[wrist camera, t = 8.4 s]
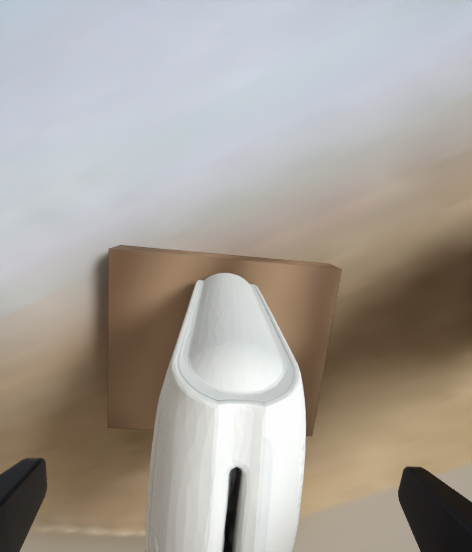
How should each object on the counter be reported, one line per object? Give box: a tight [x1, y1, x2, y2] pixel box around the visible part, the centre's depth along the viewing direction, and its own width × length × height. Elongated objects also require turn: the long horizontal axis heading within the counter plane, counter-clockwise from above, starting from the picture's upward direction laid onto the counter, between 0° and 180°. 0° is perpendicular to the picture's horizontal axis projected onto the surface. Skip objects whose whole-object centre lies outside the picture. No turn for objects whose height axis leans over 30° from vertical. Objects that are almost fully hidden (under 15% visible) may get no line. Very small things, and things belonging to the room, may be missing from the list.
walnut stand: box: [108, 245, 342, 436], centre depth 19 cm, size 14×12×2 cm
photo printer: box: [145, 273, 306, 552], centre depth 12 cm, size 10×4×12 cm, turn 174°
